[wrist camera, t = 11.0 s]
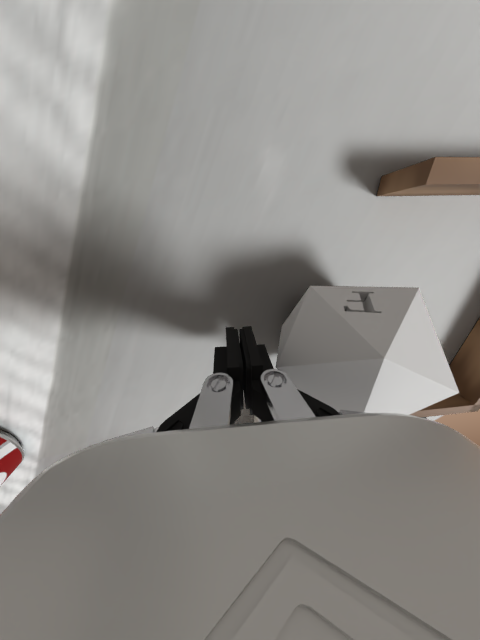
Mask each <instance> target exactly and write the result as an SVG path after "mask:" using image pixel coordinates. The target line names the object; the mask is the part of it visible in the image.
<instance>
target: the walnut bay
mask: <svg viewBox="0 0 480 640" xmlns="http://www.w3.org/2000/svg"><path fill="white" fill-rule="evenodd" d="M429 195H480V157H434V158H431V159H429V160H426V161H423V162H420V163H417V164H415V165H412V166H409V167H406V168H403V169H400V170H398V171H395V172H392V173H389V174H386V175H383V176H382V177H381V181H380V185H379V189H378V193H377V196H429ZM449 367H450V370H451V372H452V375H453V377H454V380H455V383H456V385H457V388H458V390H459V393H458V394H456V395H453V396H451V397H449V398H446V399H444V400H442V401H439V402H437V403H435V404H433V405H430V406H428V407H426V408H423V409H421V410H419V411H417V412H414V413H412V414H410V415H412V416H417V417H429V416H438V415H447V414H456V413H465V412H474V411H478V410H479V409H480V318H479V320H478V321H477V323H476V324H475V326H474V328H473V329H472V331H471V332H470V334H469V335H468V337H467V339H466V340H465V342H464V343H463V345H462V347H461V348H460V350H459V351H458V353H457V354H456V356H455V358H454V359H453V361H452V362H451V364H450V366H449Z"/></svg>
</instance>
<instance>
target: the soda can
mask: <svg viewBox="0 0 480 640" xmlns="http://www.w3.org/2000/svg"><path fill="white" fill-rule="evenodd" d="M23 459H24V451H23V448H22V447H21V446H20V443H19V441H18V440H17V439H16V438H15V437H14V436H12V435H11V434H9V433H7V432H5V431H3V430H0V486H1V485H2V484H3V482H4V481H5V480H6V479H7V478H8V477H9V476H10V474H11V473H12V472H13V471H14V470H15V469H16V468H17V466H18V465H19V464H20V463H21V462H22V460H23Z"/></svg>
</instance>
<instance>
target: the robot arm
mask: <svg viewBox="0 0 480 640" xmlns="http://www.w3.org/2000/svg"><path fill="white" fill-rule="evenodd" d="M226 340H227V347H215V355H214V371H213V374H212V375H210V376H208V377H207V378H206V379H205V381H204V384H203V387H202V390H201V393H200V394H199V395H197V396H196V397H195V398H193V399H192V400H191V401H190V402H188V403H187V404H186V405H184V406H183V407H182V408H181V409H179V410H178V411H177V412H176V413H174V414H173V415H172V416H170V417H169V418H168V419H167V420H165V421H164V422H163V423H162V424H161V425H160V427H158V428H155V429H154V427H153V426H152V427H149V428H146V429H142V430H139V431H136V432H132V433H129V434H126V435H122V436H119V437H115V438H112V439H109V440H106V441H103V442H101V443H98V444H95V445H92V446H89V447H87V448H84V449H82V450H80V451H77V452H75V453H73V454H71V455H69V456H67V457H65V458H63V459H61V460H59V461H57V462H56V463H54V464H52V465H51V466H50V467H48V468H47V469H45V470H44V471H43V472H41V473H40V474H39V475H38V476H37V477H36V478H34V479H33V480H32V481H31V482H30V483H29V484H28V485H27V486H26V487H25V488H24V489H23V490H22V491H21V492H20V493H19V494H18V496H17V497H16V498H15V499H14V500H13V501H12V502H11V503H10V504H9V506H8V507H7V508H6V509H5V510H4V511H3V512H2V514H1V515H0V640H480V447H479V446H478V445H476V444H475V443H474V442H472V441H471V440H469V439H468V438H466V437H465V436H463V435H462V434H460V433H459V432H457V431H456V430H454V429H452V428H450V427H448V426H446V425H443V424H441V423H438V422H435V421H432V420H429V419H425V418H421V417H417V416H412V415H405V414H397V413H365V412H357V411H349V410H340V412H337V411H336V410H335V409H334V408H332V407H331V406H329V405H327V404H325V403H323V402H321V401H319V400H317V399H315V398H313V397H312V396H310V395H308V394H306V393H304V392H302V391H300V390H298V389H297V388H296V387H295V385H294V384H293V382H292V381H291V380H290V378H289V377H288V375H287V374H286V373H284V372H283V371H280V370H277V369H274V368H273V366H272V363H271V361H270V358H269V355H268V353H267V350H266V347H265V345H257V344H256V341H255V338H254V335H253V331H252V328H251V326H247V327H243V329H240V343H239V336H238V330H237V329H234V327H227V328H226ZM243 390H244V397H245V405H246V409H249V408H250V414H251V415H255V416H256V417H257V418H259V419H258V421H259V422H255V423H244V424H234V422H235V421H236V420H237V419H238V417H239V416H240V415H241V409H243Z"/></svg>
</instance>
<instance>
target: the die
mask: <svg viewBox="0 0 480 640" xmlns="http://www.w3.org/2000/svg"><path fill="white" fill-rule="evenodd" d="M276 368H277V369H278V370H280V371H283V372H284V373H286V374H287V375H288V377H289V378H290V380H291V381H292V382H293V384H294V385H295V387H296V388H297V389H298V390H300V391H302V392H304V393H306V394H308V395H310V396H312V397H313V398H315V399H317V400H319V401H321V402H323V403H325V404H327V405H329V406H331V407H332V408H334V409H335V410H336V411H337V412H340V410H349V411H357V412H365V413H397V414H405V415H410V414H412V413H414V412H417V411H419V410H421V409H423V408H426V407H428V406H430V405H433V404H435V403H437V402H439V401H442V400H444V399H446V398H449V397H451V396H453V395H456V394H458V393H459V390H458V388H457V385H456V383H455V380H454V377H453V375H452V372H451V370H450V367H449V364H448V362H447V359H446V357H445V354H444V351H443V349H442V346H441V343H440V341H439V338H438V336H437V333H436V330H435V328H434V325H433V323H432V320H431V317H430V315H429V312H428V310H427V307H426V304H425V302H424V299H423V297H422V294H421V291H420V289H419V288H406V287H350V286H310V287H309V288H308V289H307V291H306V292H305V294H304V295H303V297H302V298H301V299H300V301H299V302H298V304H297V305H296V306H295V308H294V309H293V311H292V312H291V314H290V315H289V316H288V318H287V319H286V321H285V322H284V323H283V325H282V328H281V335H280V342H279V348H278V355H277V362H276Z"/></svg>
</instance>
